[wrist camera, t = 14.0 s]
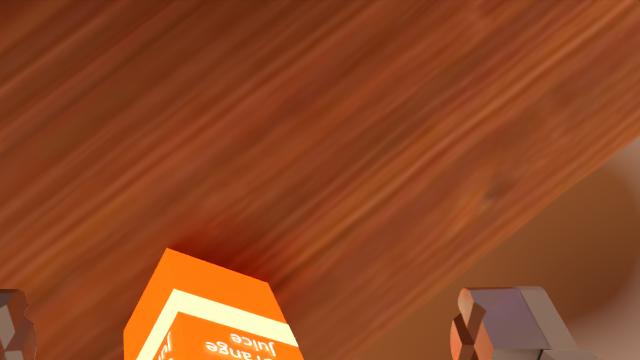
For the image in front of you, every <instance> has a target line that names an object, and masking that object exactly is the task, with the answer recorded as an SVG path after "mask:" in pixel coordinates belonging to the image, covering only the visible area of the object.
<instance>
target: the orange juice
mask: <svg viewBox="0 0 640 360" xmlns="http://www.w3.org/2000/svg"><path fill="white" fill-rule="evenodd" d="M124 360H304V359H303V357H302V355H301V353H300V351H299V349H298V344H297V342H296V340H295V338H294V336H293V334H292V332H291V330H290V328H289V325H287V323H286V321H285V319H284V317H283V314H282V312H281V310H280V308H279V306H278V304H277V302H276V300H275V297H274V295H273V293H272V291H271V289H270V287H269V285H268V283H266V282H263V281H260V280H258V279H255V278H252V277H249V276H246V275H243V274H240V273H237V272H234V271H232V270H229V269H226V268H223V267H220V266H217V265H214V264H211V263H208V262H206V261H203V260H200V259H197V258H194V257H191V256H188V255H185V254H182V253H180V252H177V251H174V250H171V249H168V248H167V249H166V251H165V253H164V254H163V256H162V258H161V260H160V262H159V264H158V266H157V268H156V270H155V272H154V274H153V276H152V278H151V280H150V281H149V283H148V285H147V287H146V289H145V291H144V293H143V295H142V297H141V299H140V301H139V303H138V305H137V307H136V308H135V310H134V312H133V314H132V316H131V318H130V320H129V322H128V324H127V326H126V328H125V330H124Z"/></svg>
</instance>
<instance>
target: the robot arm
mask: <svg viewBox="0 0 640 360" xmlns="http://www.w3.org/2000/svg"><path fill="white" fill-rule="evenodd" d="M457 303H458V306H459V308H460V311H461V313H460V314H459V315H458V316H457V317H456V318H454V319H453V323H452V328H451V351H452V356H453V360H602V359H600V358H599V357H597V356H596V355H594V354H593V353H591V352H590V351H588V350H587V349H586V350H582V349H579V348H578V346H577V345H576V343H575V341H574V339H573V338H572V336H571V335H570V333H569V331H568V329H567V328H566V326H565V325H564V323H563V321H562V319H561V318H560V316H559V314H558V312H557V311H556V309H555V307H554V306H553V304H552V302H551V300H550V299H549V297H548V296H547V294H546V292H545V291H544V289H543V288H541V287H540V286H523V287H472V288H471V287H470V288H468V287H466V288H463V289H462V291H461V292H460V295H459V299H458V302H457ZM27 307H28V302H27V299H26V296H25V293H24V292H23V291H21V290H18V289H0V360H34V358H35V352H36V347H37V341H36V331H35V327H34V323H32V322H31V321H30V320H29V319H27V318H26V317H25V316H24V314H25V312H26V309H27Z"/></svg>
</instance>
